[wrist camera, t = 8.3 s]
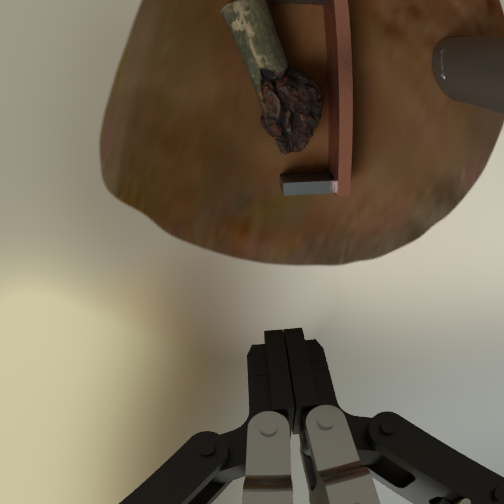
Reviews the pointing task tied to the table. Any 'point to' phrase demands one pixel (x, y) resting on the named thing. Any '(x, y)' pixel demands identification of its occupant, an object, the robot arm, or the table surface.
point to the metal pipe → (274, 76)
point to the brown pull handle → (332, 107)
